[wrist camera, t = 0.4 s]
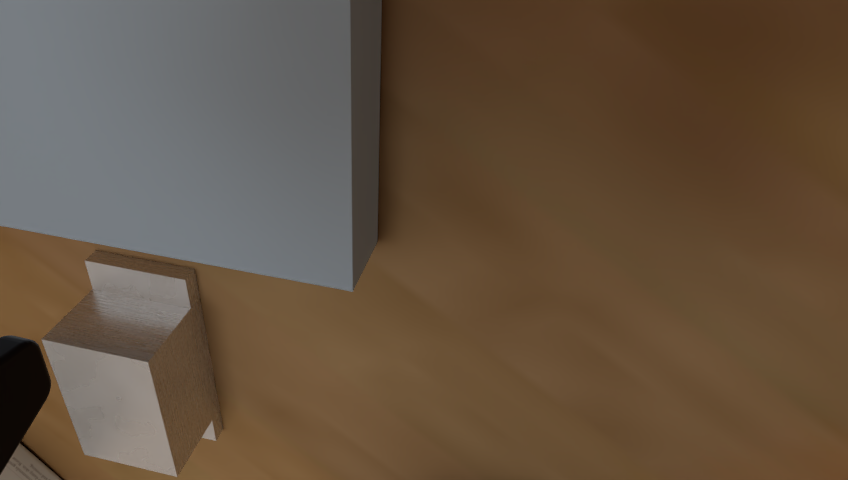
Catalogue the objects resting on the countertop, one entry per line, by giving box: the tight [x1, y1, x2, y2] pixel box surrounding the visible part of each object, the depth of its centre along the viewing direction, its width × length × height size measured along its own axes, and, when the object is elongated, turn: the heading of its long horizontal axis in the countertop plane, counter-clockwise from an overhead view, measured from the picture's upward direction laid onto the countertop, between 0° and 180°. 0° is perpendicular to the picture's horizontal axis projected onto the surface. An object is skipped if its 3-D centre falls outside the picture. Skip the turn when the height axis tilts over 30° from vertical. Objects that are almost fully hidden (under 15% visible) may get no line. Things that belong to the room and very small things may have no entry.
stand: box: [0, 0, 382, 292], centre depth 20 cm, size 16×16×3 cm
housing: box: [42, 250, 223, 477], centre depth 29 cm, size 10×4×4 cm, turn 177°
